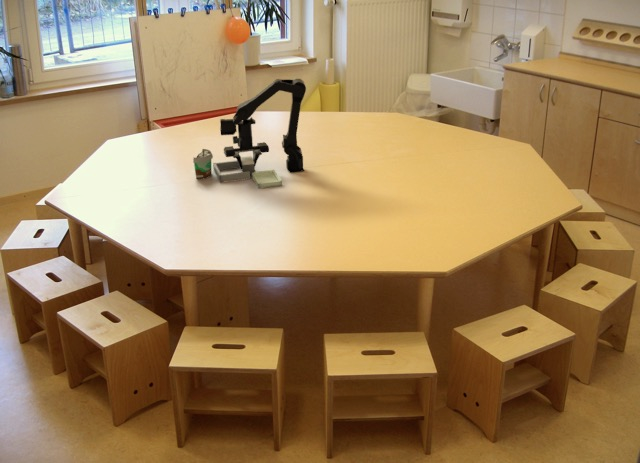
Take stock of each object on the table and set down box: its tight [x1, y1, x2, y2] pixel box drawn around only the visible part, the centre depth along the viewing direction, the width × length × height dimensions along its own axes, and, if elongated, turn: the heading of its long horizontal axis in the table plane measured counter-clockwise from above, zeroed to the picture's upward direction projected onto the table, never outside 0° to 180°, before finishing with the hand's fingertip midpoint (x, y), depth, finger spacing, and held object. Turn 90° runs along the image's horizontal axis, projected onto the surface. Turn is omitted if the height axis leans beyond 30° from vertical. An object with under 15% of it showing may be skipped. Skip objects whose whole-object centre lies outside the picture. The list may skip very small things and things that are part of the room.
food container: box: [192, 148, 214, 180], centre depth 326 cm, size 12×6×10 cm, turn 168°
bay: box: [212, 159, 251, 183], centre depth 329 cm, size 13×16×3 cm
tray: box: [250, 169, 283, 189], centre depth 321 cm, size 10×14×2 cm
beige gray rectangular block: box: [240, 155, 256, 175], centre depth 330 cm, size 5×9×5 cm, turn 12°
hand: (247, 168), depth 330 cm, fingers closed on beige gray rectangular block, 5 cm apart
